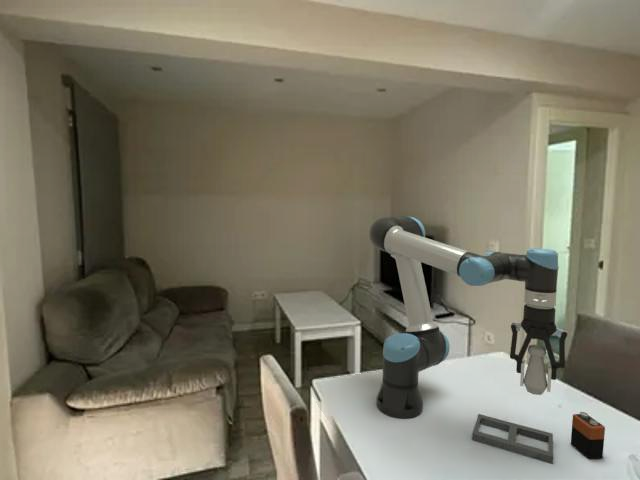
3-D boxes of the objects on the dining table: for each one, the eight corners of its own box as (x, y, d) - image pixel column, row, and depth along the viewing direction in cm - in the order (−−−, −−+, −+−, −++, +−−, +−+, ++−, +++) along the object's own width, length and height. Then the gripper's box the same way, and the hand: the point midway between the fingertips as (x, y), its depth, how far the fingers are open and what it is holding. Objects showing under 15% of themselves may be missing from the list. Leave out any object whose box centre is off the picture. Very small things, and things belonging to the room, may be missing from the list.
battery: (583, 443, 110) (586, 410, 109) (603, 459, 103) (606, 423, 102) (569, 444, 109) (572, 410, 108) (588, 459, 103) (591, 424, 102)
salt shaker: (550, 397, 104) (552, 350, 103) (527, 395, 105) (529, 349, 104) (542, 387, 110) (544, 343, 108) (520, 385, 111) (522, 341, 110)
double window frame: (471, 439, 111) (472, 433, 111) (478, 419, 121) (478, 413, 121) (552, 464, 101) (553, 457, 101) (552, 440, 111) (552, 433, 111)
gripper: (500, 304, 107) (496, 384, 109) (582, 313, 97) (576, 401, 99) (502, 298, 113) (499, 374, 115) (579, 307, 104) (574, 389, 106)
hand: (535, 386), depth 107 cm, fingers closed on salt shaker, 6 cm apart
